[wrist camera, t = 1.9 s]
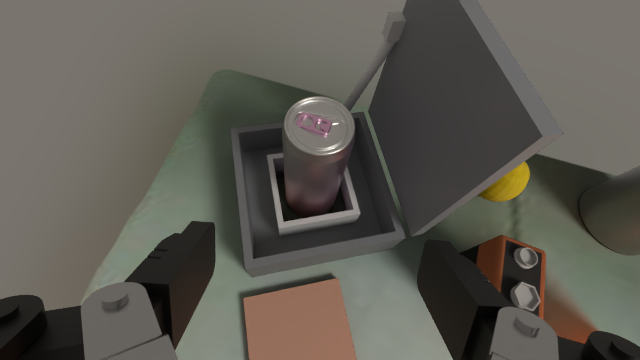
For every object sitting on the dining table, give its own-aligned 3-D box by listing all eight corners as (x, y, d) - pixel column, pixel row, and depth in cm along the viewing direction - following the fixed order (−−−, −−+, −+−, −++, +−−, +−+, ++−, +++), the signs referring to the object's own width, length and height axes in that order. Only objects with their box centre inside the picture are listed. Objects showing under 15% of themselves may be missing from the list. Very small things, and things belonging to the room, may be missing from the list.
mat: (337, 279, 33) (338, 277, 32) (361, 385, 29) (362, 387, 28) (244, 298, 31) (243, 298, 31) (255, 414, 27) (254, 416, 27)
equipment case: (367, 131, 42) (440, -56, 21) (405, 245, 35) (563, 133, 15) (237, 149, 39) (174, -48, 18) (251, 277, 32) (179, 192, 12)
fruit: (506, 210, 38) (556, 184, 31) (465, 210, 38) (505, 183, 31) (494, 171, 41) (537, 138, 34) (455, 171, 40) (490, 138, 33)
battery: (441, 312, 32) (498, 307, 24) (452, 253, 35) (506, 229, 26) (481, 329, 32) (554, 330, 23) (489, 268, 35) (556, 248, 26)
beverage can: (296, 169, 39) (297, 85, 25) (340, 184, 38) (366, 107, 25) (278, 210, 36) (269, 141, 23) (325, 227, 36) (345, 167, 22)
